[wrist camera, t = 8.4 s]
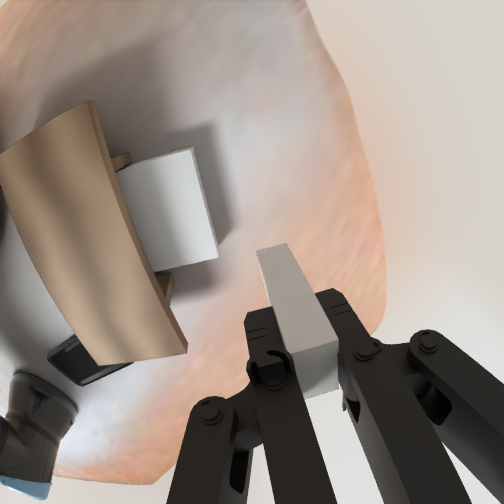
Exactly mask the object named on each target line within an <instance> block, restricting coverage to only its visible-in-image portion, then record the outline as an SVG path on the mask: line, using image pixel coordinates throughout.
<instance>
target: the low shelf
mask: <svg viewBox="0 0 504 504" xmlns="http://www.w3.org/2000/svg"><path fill="white" fill-rule="evenodd" d="M129 163H131V160H130V156H129V153H128V152H127V153H124V154H122V155H119V156H117V157H114V158H112V159H111V158H110V155H109V151H108V148H107V145H106V141H105V138H104V134H103V131H102V127H101V123H100V120H99V116H98V112H97V108H96V104H95V101H85V102H83V103H81V104H79V105H77V106H75V107H73V108H71V109H70V110H68V111H66V112H64V113H62V114H61V115H59V116H57V117H55V118H54V119H52V120H50V121H49V122H47V123H45V124H44V125H42V126H40V127H39V128H37V129H36V130H34V131H33V132H31V133H30V134H28V135H27V136H25V137H24V138H22V139H21V140H19V141H18V142H16V143H15V144H14V145H12V146H11V147H9V148H8V149H7V150H5V151H4V152H3V153H1V154H0V185H1V188H2V191H3V194H4V197H5V199H6V202H7V205H8V208H9V210H10V213H11V215H12V218H13V220H14V223H15V225H16V228H17V230H18V232H19V235H20V237H21V239H22V241H23V244H24V246H25V248H26V250H27V252H28V254H29V256H30V258H31V260H32V262H33V264H34V266H35V268H36V270H37V272H38V274H39V276H40V278H41V279H42V281H43V283H44V285H45V287H46V288H47V290H48V292H49V294H50V295H51V297H52V299H53V300H54V302H55V304H56V305H57V307H58V308H59V310H60V312H61V313H62V315H63V316H64V318H65V319H66V321H67V323H68V324H69V326H70V327H71V328H72V330H73V331H74V333H75V334H76V336H77V337H78V339H79V340H80V341H81V343H82V344H83V346H84V347H85V348H86V350H87V351H88V352H89V354H90V355H91V356H92V358H93V359H94V360H95V361H96V363H97V364H98V365H99V366H101V365H110V364H119V363H127V362H135V361H142V360H149V359H156V358H163V357H169V356H175V355H181V354H187V348H188V342H187V340H186V338H185V336H184V335H183V333H182V331H181V329H180V327H179V325H178V323H177V321H176V319H175V317H174V315H173V313H172V311H171V309H170V307H169V306H170V301H171V296H172V291H173V286H174V282H175V280H174V277H173V275H172V272H171V273H167V274H163V275H159V276H155V274H154V272H153V270H152V267H151V265H150V263H149V260H148V258H147V256H146V253H145V251H144V249H143V246H142V244H141V241H140V239H139V236H138V234H137V231H136V229H135V226H134V224H133V221H132V218H131V216H130V213H129V210H128V208H127V205H126V202H125V199H124V197H123V194H122V191H121V188H120V185H119V182H118V179H117V176H116V173H115V171H117V170H119V169H120V168H122V167H124V166H125V165H127V164H129Z"/></svg>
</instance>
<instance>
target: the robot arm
mask: <svg viewBox="0 0 504 504" xmlns="http://www.w3.org/2000/svg"><path fill="white" fill-rule="evenodd" d="M256 254H257V258H258V262H259V266H260V270H261V274H262V278H263V283H264V287H265V291H266V295H267V299H268V302H269V305H270V307H267V308H263V309H259V310H255V311H251V312H248V313H247V315H246V318H245V320H244V326H245V332H246V338H247V344H248V350H249V356H250V359H249V360H248V362H247V366H246V371H247V373H248V376H249V378H250V382H249V384H248V385H247V387H246V388H245V389H244V390H242V391H241V392H239V393H237V394H236V395H234V396H232V397H230V398H228V399H225V398H223V397H218V396H212V397H206V398H204V399H202V400H200V401H199V402H198V403H197V404H196V405H194V407H193V409H192V411H191V413H190V416H189V420H188V423H187V427H186V431H185V434H184V438H183V442H182V445H181V449H180V453H179V457H178V460H177V464H176V468H175V472H174V476H173V480H172V483H171V487H170V491H169V495H168V499H167V503H166V504H247V496H248V488H249V481H250V473H251V465H252V457H253V449H254V448H255V447H257V446H259V445H261V444H262V443H263V445H264V450H265V455H266V460H267V466H268V471H269V475H270V480H271V486H272V491H273V495H274V500H275V504H337V501H336V498H335V494H334V491H333V488H332V485H331V482H330V479H329V476H328V472H327V469H326V466H325V463H324V460H323V456H322V453H321V450H320V447H319V444H318V441H317V438H316V435H315V431H314V428H313V425H312V422H311V419H310V416H309V413H308V409H307V406H306V403H305V399H308V398H311V397H315V396H317V395H321V394H324V393H327V392H330V391H333V390H336V389H339V383H340V386H341V388H342V390H343V403H342V406H343V411H345V410H346V408H347V410H348V413H349V415H350V418H351V420H352V423H353V425H354V428H355V430H356V432H357V435H358V437H359V440H360V442H361V445H362V447H363V450H364V452H365V455H366V457H367V460H368V462H369V465H370V468H371V470H372V473H373V475H374V478H375V480H376V483H377V486H378V488H379V491H380V493H381V496H382V499H383V502H384V504H472V503H471V500H470V498H469V496H468V494H467V492H466V490H465V487H464V485H463V483H462V481H461V479H460V477H459V475H458V473H457V471H456V469H455V467H454V465H453V463H452V461H451V459H450V457H449V455H448V453H447V451H446V449H445V448H444V446H443V444H442V442H443V443H444V445H445V446H446V447H447V448H448V449H449V450H450V451H451V452H452V453H453V454H454V455H455V456H456V457H457V458H458V459H459V460H460V461H461V462H462V463H463V464H464V465H465V466H466V467H467V468H468V469H469V470H470V471H471V473H472V474H473V475H474V476H475V477H476V478H477V479H478V480H479V481H480V482H481V483H482V484H483V485H484V486H485V487H486V488H487V489H488V490H489V491H490V492H491V493H492V495H493V496H494V497H495V498H496V499H497V500H498V501H499V502H500V503H501V504H504V384H503V383H502V382H500V381H499V380H498V379H497V378H496V377H494V376H493V375H492V374H491V373H490V372H488V371H487V370H486V369H485V368H484V367H482V366H481V365H480V364H478V363H477V362H476V361H475V360H474V359H472V358H471V357H470V356H469V355H467V354H466V353H465V352H463V351H462V350H461V349H460V348H459V347H457V346H456V345H455V344H453V343H452V342H451V341H449V340H448V339H447V338H446V337H444V336H443V335H442V334H440V333H438V332H437V331H434V330H428V329H427V330H420V331H419V332H417V333H415V334H414V335H413V336H412V337H411V339H410V342H409V343H402V344H392V345H391V344H383V343H381V342H380V341H379V340H377V339H375V338H373V337H371V336H370V335H369V334H368V332H367V331H366V329H365V327H364V326H363V324H362V323H361V321H360V320H359V318H358V317H357V315H356V313H355V312H354V310H352V307H351V306H350V304H348V301H347V300H346V298H345V297H344V295H343V294H342V293H340V292H339V291H337V290H335V289H334V288H331V289H328V290H324V291H321V292H318V293H314V292H313V290H312V288H311V286H310V285H309V283H308V281H307V279H306V277H305V275H304V274H303V272H302V270H301V268H300V266H299V265H298V263H297V261H296V259H295V257H294V256H293V254H292V252H291V250H290V248H289V247H288V245H287V243H285V244H281V245H277V246H274V247H270V248H266V249H262V250H258V251H256ZM76 415H77V410H76V408H75V406H74V405H73V403H72V402H71V401H70V400H69V399H68V398H67V397H66V396H65V395H64V394H63V393H62V392H60V391H59V390H58V389H56V388H55V387H53V386H52V385H50V384H49V383H47V382H45V381H44V380H42V379H40V378H38V377H36V376H33V375H30V374H27V373H16V374H15V375H14V377H13V379H12V381H11V383H10V392H9V403H8V412H7V414H6V417H5V418H3V417H2V416H1V415H0V484H2V485H4V486H6V487H8V488H11V489H13V490H15V491H17V492H20V493H22V494H24V495H27V496H29V497H32V498H35V499H37V500H45V499H46V498H47V496H48V493H49V489H50V486H51V485H52V483H51V480H52V475H53V470H54V465H55V461H56V456H57V452H58V447H59V444H60V441H61V439H62V438H63V437H64V435H65V434H66V433H67V431H68V430H69V429H70V427H71V426H72V425H73V424H74V422H75V418H76ZM441 441H442V442H441Z"/></svg>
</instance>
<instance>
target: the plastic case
mask: <svg viewBox="0 0 504 504" xmlns="http://www.w3.org/2000/svg"><path fill="white" fill-rule="evenodd" d="M115 173H116V176H117V179H118V182H119V185H120V188H121V191H122V194H123V197H124V199H125V202H126V205H127V208H128V210H129V213H130V216H131V218H132V221H133V224H134V226H135V229H136V231H137V234H138V236H139V239H140V241H141V244H142V246H143V249H144V251H145V253H146V256H147V258H148V260H149V263H150V265H151V267H152V270H153V272H157V271H162V270H166V269H171V268H175V267H179V266H184V265H188V264H193V263H197V262H202V261H206V260H210V259H215V258H219V245H218V242H217V238H216V234H215V231H214V227H213V223H212V219H211V215H210V212H209V208H208V204H207V200H206V196H205V192H204V189H203V185H202V181H201V177H200V173H199V169H198V165H197V161H196V157H195V152H194V148H193V147H189V148H185V149H182V150H178V151H174V152H171V153H167V154H164V155H160V156H157V157H154V158H151V159H147V160H144V161H141V162H138V163H135V164H132V165H129V166H126V167H123V168H120V169H119V170H117V171H115Z"/></svg>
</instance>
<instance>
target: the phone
mask: <svg viewBox="0 0 504 504" xmlns="http://www.w3.org/2000/svg"><path fill="white" fill-rule="evenodd" d="M47 359H48V361H49V362H50V363H51V364H52V365H53V366H54V367H56V368H57V369H58V370H59V371H60V372H61V373H63V374H64V375H65V376H66V377H68V378H69V379H70V380H71V381H73V382H74V383H75V384H77V385H79V386H85V385H88V384H90V383H92V382H94V381H96V380H99V379H101V378H103V377H105V376H107V375H109V374H112V373H114V372H116V371H118V370H120V369H122V368H124V367H127V366H129V365H131V364H133V363H134V362H127V363H119V364H110V365H101V366H99V365H98V364H97V363H96V361H95V360H94V359H93V358H92V356H91V355H90V354H89V352H88V351H87V350H86V348H85V347H84V346H83V344H82V343H81V341H80V340H79V339H78V337H77V336H76V334H75V335H74V336H73V337H71V338H70V339H69V340H67V341H66V342H64V343H63V344H61V345H60V346H59V347H57V348H56V349H54V350H53V351H51V352H50V353H49V354H48V356H47Z"/></svg>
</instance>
